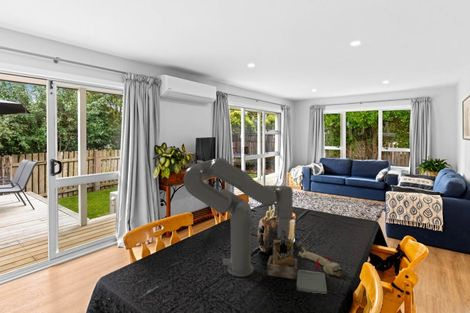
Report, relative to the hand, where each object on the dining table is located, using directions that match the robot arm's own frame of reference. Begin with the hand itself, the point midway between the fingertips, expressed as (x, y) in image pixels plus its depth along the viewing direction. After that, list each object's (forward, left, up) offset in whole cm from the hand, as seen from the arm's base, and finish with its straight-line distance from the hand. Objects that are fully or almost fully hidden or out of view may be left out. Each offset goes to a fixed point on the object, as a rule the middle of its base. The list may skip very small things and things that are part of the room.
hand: (284, 248), depth 124 cm
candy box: (-1, 0, -12) cm, 12 cm away
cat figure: (+17, +11, -12) cm, 23 cm away
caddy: (-1, 0, -12) cm, 12 cm away
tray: (+12, -6, -12) cm, 18 cm away
